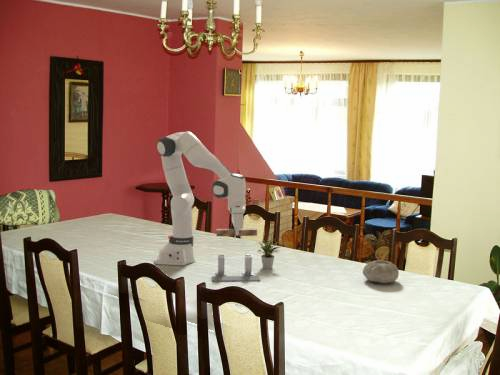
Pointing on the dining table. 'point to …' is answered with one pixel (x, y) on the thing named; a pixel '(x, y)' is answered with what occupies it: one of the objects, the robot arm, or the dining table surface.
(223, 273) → the standard left
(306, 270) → the dining table surface
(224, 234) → the rail
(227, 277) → the pad
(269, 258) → the house plant
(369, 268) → the grey flattened round lump
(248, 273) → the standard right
